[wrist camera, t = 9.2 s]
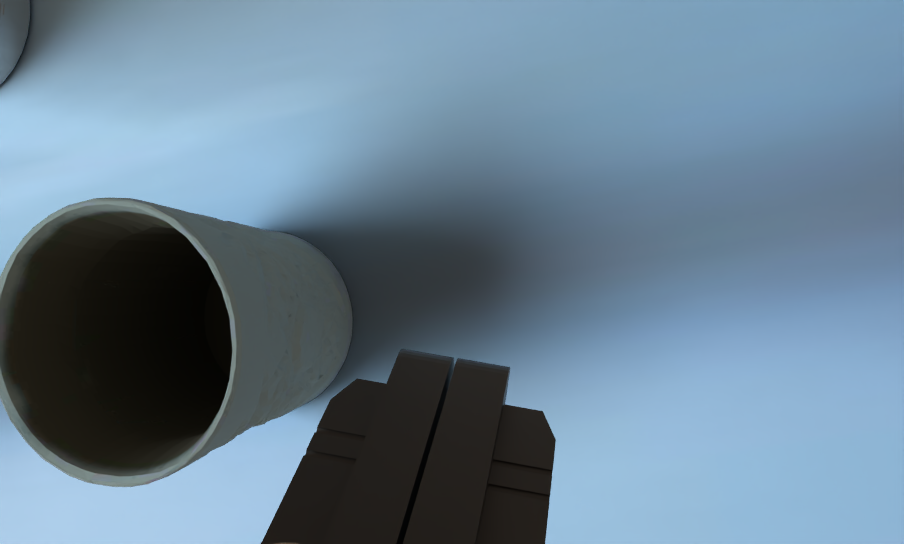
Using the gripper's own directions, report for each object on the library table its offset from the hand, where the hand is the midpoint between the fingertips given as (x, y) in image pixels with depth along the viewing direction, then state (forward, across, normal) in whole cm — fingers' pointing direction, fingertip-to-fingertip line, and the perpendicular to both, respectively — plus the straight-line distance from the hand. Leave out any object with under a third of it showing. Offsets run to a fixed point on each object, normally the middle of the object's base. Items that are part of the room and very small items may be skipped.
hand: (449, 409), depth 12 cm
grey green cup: (+23, +11, +16) cm, 30 cm away
